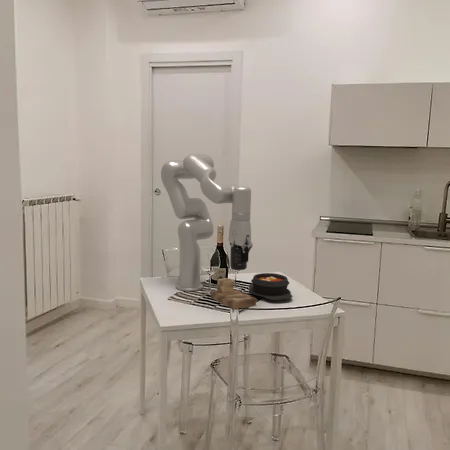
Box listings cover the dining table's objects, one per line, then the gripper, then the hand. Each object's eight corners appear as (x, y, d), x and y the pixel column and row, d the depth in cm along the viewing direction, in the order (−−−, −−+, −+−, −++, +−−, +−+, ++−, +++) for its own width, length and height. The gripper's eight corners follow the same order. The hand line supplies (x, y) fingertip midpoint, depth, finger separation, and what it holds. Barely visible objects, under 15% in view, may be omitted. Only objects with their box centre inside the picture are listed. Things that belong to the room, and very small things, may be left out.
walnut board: (210, 297, 203) (210, 290, 203) (231, 294, 209) (231, 287, 209) (234, 309, 188) (234, 302, 188) (255, 305, 194) (256, 298, 194)
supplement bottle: (229, 266, 196) (229, 238, 194) (245, 266, 196) (246, 238, 195) (231, 270, 189) (231, 241, 188) (247, 270, 190) (248, 241, 188)
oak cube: (217, 290, 204) (217, 279, 203) (226, 288, 206) (227, 277, 206) (223, 293, 200) (223, 282, 199) (233, 291, 202) (233, 280, 202)
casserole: (302, 301, 202) (303, 282, 200) (263, 305, 195) (264, 286, 193) (274, 286, 224) (275, 269, 223) (239, 289, 217) (239, 271, 216)
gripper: (221, 215, 195) (220, 257, 198) (246, 220, 181) (244, 265, 183) (236, 214, 199) (235, 255, 202) (261, 219, 185) (259, 263, 187)
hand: (239, 259), depth 192 cm, fingers closed on supplement bottle, 6 cm apart
